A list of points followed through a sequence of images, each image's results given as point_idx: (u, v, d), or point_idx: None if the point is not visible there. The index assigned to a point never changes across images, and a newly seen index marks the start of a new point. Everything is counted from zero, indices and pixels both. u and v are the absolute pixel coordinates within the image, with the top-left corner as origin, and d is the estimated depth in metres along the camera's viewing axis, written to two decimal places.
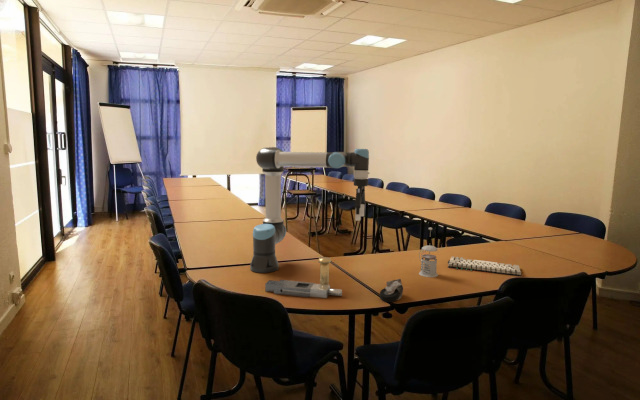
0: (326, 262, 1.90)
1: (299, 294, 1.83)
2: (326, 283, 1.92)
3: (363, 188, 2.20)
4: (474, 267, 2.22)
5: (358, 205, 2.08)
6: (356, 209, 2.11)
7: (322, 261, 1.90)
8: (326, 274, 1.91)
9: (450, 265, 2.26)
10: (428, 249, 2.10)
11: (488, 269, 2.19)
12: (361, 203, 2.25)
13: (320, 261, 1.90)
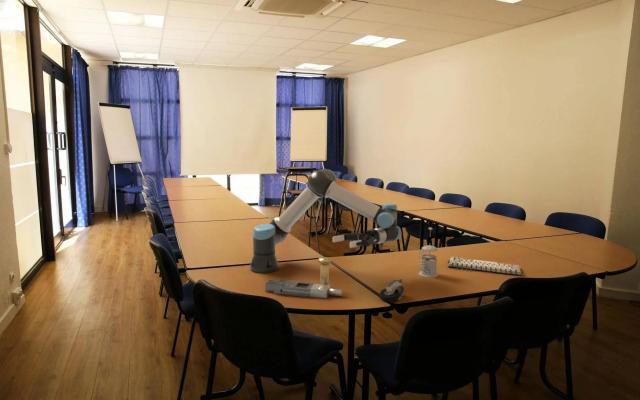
0: (326, 262, 1.90)
1: (299, 294, 1.83)
2: (326, 283, 1.92)
3: None
4: (474, 267, 2.22)
5: (368, 244, 1.93)
6: (362, 242, 1.93)
7: (322, 261, 1.90)
8: (326, 274, 1.91)
9: (450, 265, 2.26)
10: (428, 249, 2.10)
11: (488, 269, 2.19)
12: (343, 236, 2.06)
13: (320, 261, 1.90)
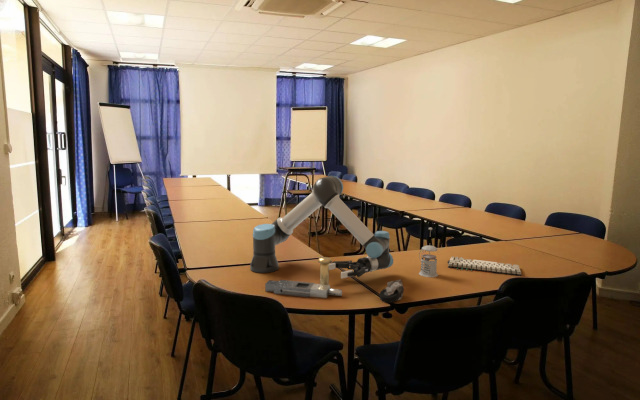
0: (326, 262, 1.90)
1: (299, 294, 1.83)
2: (326, 283, 1.92)
3: None
4: (474, 267, 2.22)
5: (359, 275, 1.91)
6: (353, 273, 1.91)
7: (322, 261, 1.90)
8: (326, 274, 1.91)
9: (450, 265, 2.26)
10: (428, 249, 2.10)
11: (488, 269, 2.19)
12: None
13: (320, 261, 1.90)
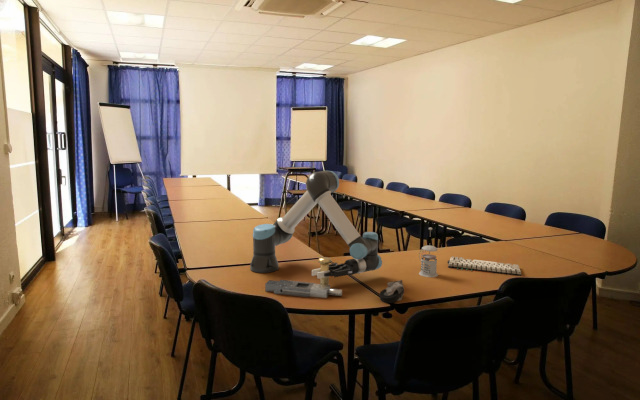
0: (326, 262, 1.90)
1: (299, 294, 1.83)
2: (326, 283, 1.92)
3: None
4: (474, 267, 2.22)
5: (336, 275, 1.90)
6: (330, 273, 1.90)
7: (322, 261, 1.90)
8: None
9: (450, 265, 2.26)
10: (428, 249, 2.10)
11: (488, 269, 2.19)
12: None
13: (320, 261, 1.90)
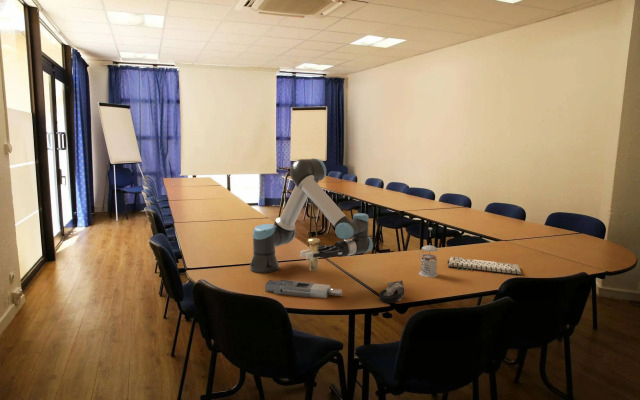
0: (315, 243, 1.84)
1: (299, 294, 1.83)
2: (315, 264, 1.86)
3: None
4: (474, 267, 2.22)
5: (325, 256, 1.85)
6: (319, 254, 1.84)
7: (311, 242, 1.84)
8: None
9: (450, 265, 2.26)
10: (428, 249, 2.10)
11: (488, 269, 2.19)
12: None
13: (309, 242, 1.84)
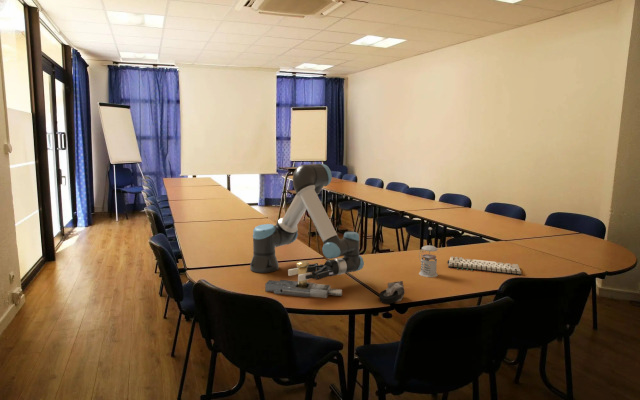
0: (304, 266, 1.83)
1: (299, 294, 1.83)
2: None
3: None
4: (475, 267, 2.22)
5: (318, 278, 1.82)
6: (311, 275, 1.82)
7: (300, 265, 1.83)
8: None
9: (450, 265, 2.26)
10: (428, 249, 2.10)
11: (488, 269, 2.20)
12: None
13: (298, 265, 1.84)
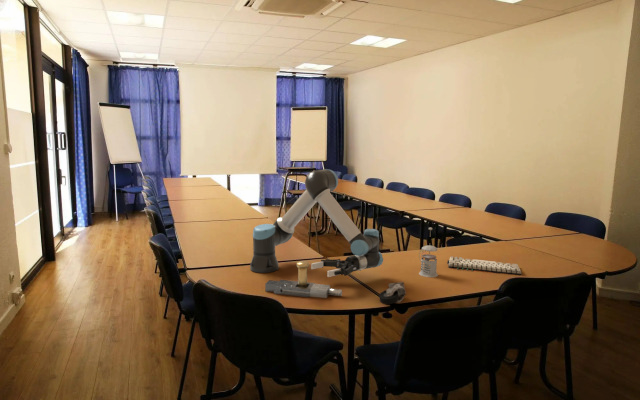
0: (304, 266, 1.83)
1: (299, 294, 1.83)
2: None
3: None
4: (475, 267, 2.22)
5: (346, 274, 1.87)
6: (340, 271, 1.87)
7: (300, 265, 1.83)
8: (304, 279, 1.84)
9: (451, 265, 2.26)
10: (428, 249, 2.10)
11: (489, 268, 2.20)
12: (323, 263, 2.01)
13: (298, 265, 1.83)
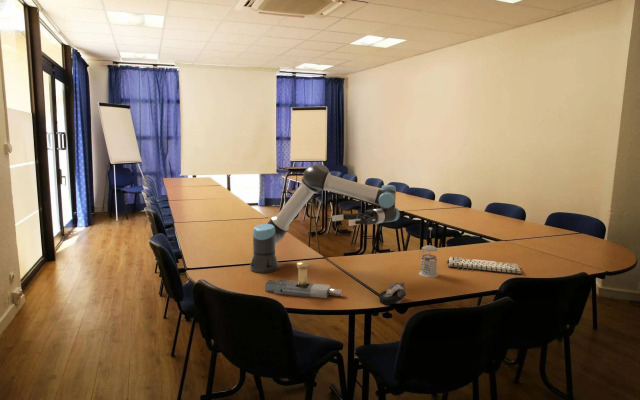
0: (304, 266, 1.83)
1: (299, 294, 1.83)
2: None
3: None
4: (475, 267, 2.22)
5: (366, 223, 1.97)
6: (361, 221, 1.97)
7: (300, 265, 1.83)
8: (304, 279, 1.84)
9: (451, 265, 2.26)
10: (428, 249, 2.10)
11: (489, 268, 2.20)
12: (343, 216, 2.10)
13: (298, 265, 1.83)
